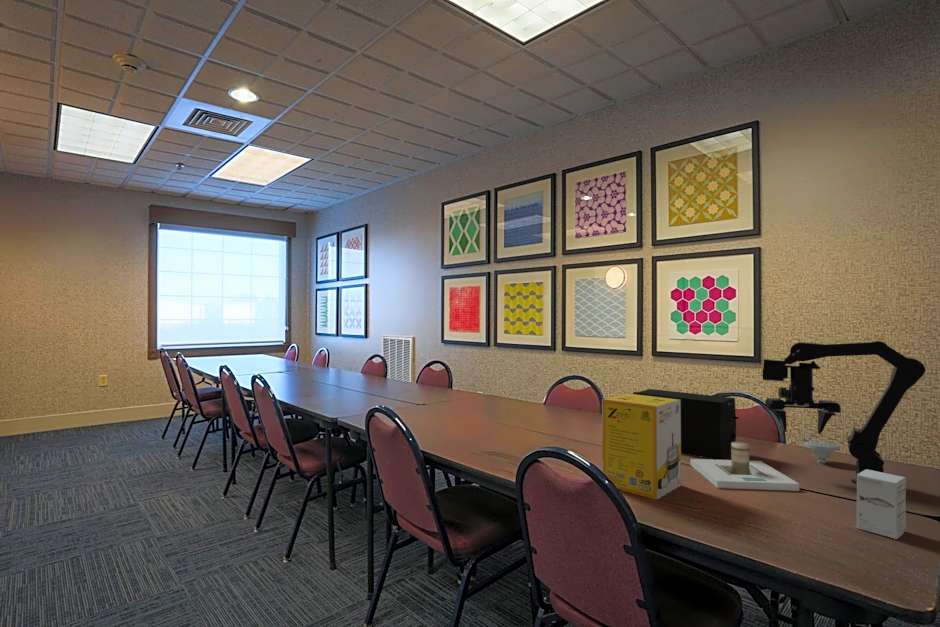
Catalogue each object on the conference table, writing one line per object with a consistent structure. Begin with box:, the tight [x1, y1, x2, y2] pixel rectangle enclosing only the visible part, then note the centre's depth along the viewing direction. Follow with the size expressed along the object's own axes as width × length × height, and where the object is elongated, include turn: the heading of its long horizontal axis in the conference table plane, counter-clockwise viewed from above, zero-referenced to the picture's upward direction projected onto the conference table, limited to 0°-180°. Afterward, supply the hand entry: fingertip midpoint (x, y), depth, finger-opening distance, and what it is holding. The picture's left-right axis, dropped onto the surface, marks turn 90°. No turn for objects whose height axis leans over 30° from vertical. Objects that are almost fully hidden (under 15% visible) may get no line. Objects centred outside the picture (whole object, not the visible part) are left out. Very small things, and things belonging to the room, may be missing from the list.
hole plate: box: [689, 458, 800, 492], centre depth 147 cm, size 22×22×2 cm
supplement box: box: [856, 469, 907, 540], centre depth 109 cm, size 7×7×13 cm
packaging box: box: [601, 393, 682, 501], centre depth 139 cm, size 16×16×25 cm
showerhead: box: [802, 438, 840, 464], centre depth 162 cm, size 9×7×10 cm
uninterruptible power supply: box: [632, 388, 739, 460], centre depth 179 cm, size 16×34×20 cm, turn 44°
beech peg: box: [730, 441, 750, 475], centre depth 147 cm, size 5×5×10 cm
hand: (801, 432), depth 149 cm, fingers open, 9 cm apart
